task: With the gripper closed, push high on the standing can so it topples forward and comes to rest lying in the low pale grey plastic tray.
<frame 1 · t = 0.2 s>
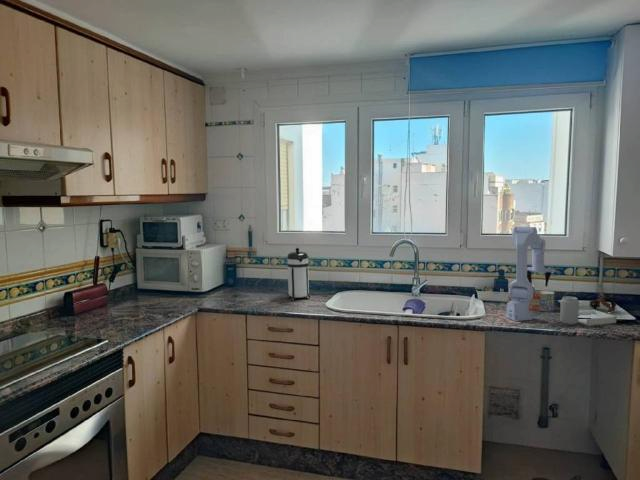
hand: (538, 285, 249), 11 cm above the worktop, tool pointing down, fingers open, 7 cm apart
coffee press: (297, 297, 280), on the worktop
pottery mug: (601, 311, 235), on the worktop
stack of blocks: (530, 309, 243), on the worktop
can: (569, 323, 216), on the worktop
tray: (591, 320, 219), on the worktop
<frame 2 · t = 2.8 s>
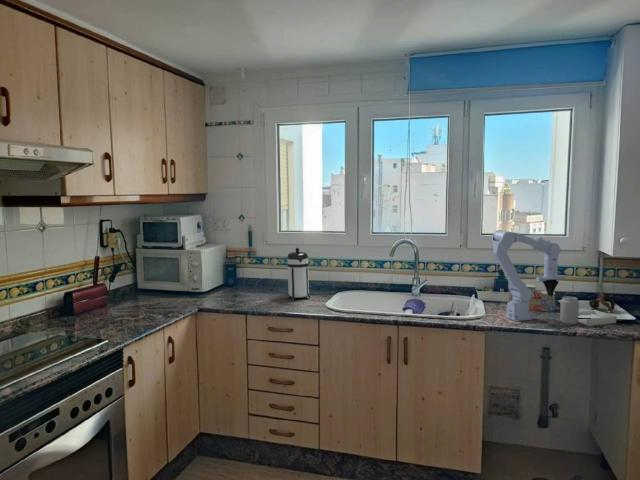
hand: (550, 295, 227), 10 cm above the worktop, tool pointing down, fingers closed
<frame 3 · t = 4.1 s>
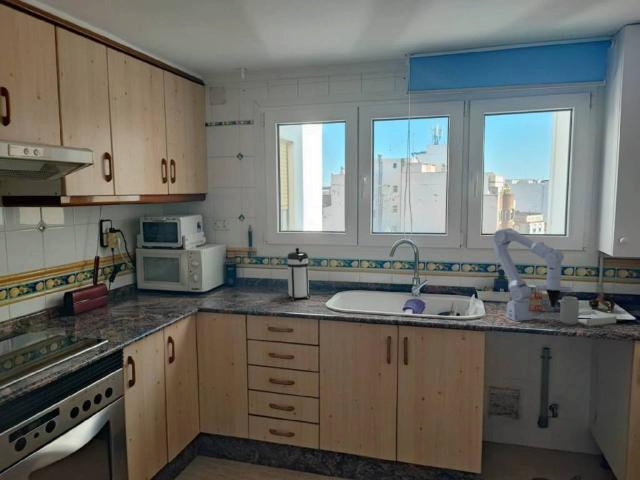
hand: (552, 306, 214), 8 cm above the worktop, tool pointing down, fingers closed
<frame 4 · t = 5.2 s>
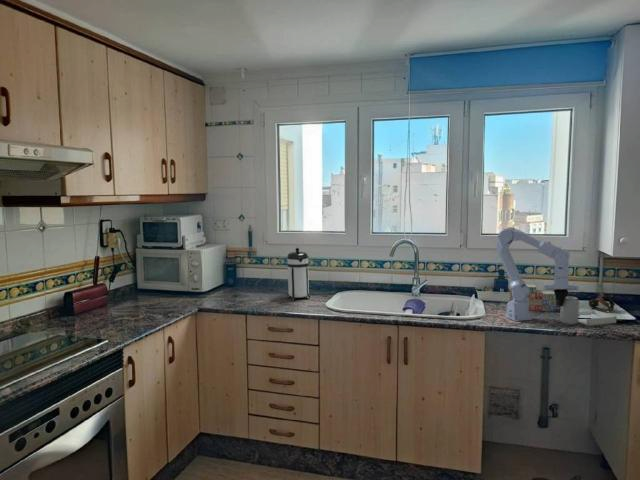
hand: (560, 305, 214), 8 cm above the worktop, tool pointing down, fingers closed, pressing on can
can: (569, 323, 216), on the worktop, touching gripper
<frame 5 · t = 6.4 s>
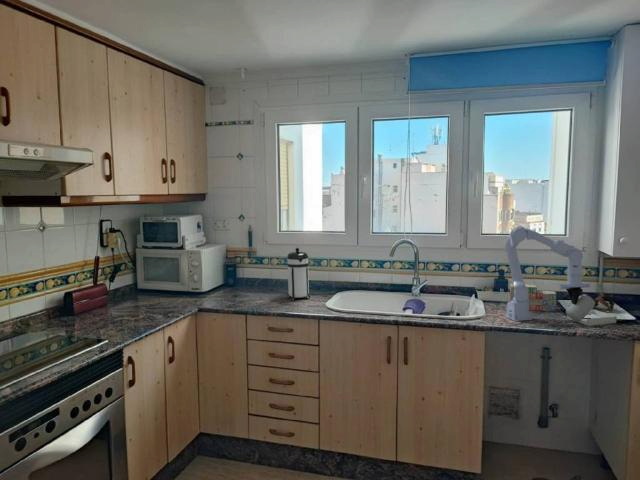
hand: (574, 303, 216), 9 cm above the worktop, tool pointing down, fingers closed, pressing on can
can: (571, 317, 216), point 2 cm above the worktop, touching gripper
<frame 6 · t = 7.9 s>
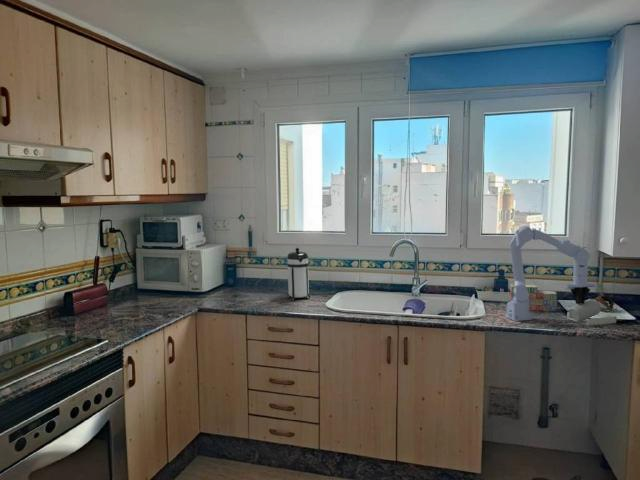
hand: (579, 303, 216), 9 cm above the worktop, tool pointing down, fingers closed
can: (574, 315, 216), point 4 cm above the worktop, touching gripper, tray
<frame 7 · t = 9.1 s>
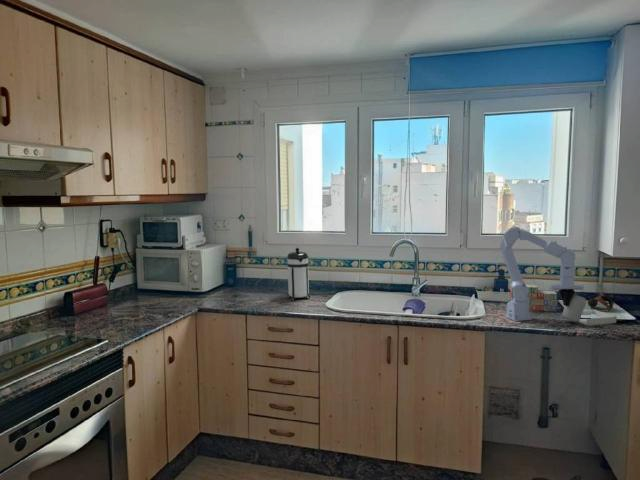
hand: (566, 305, 215), 8 cm above the worktop, tool pointing down, fingers closed
can: (569, 320, 216), point 1 cm above the worktop, touching gripper
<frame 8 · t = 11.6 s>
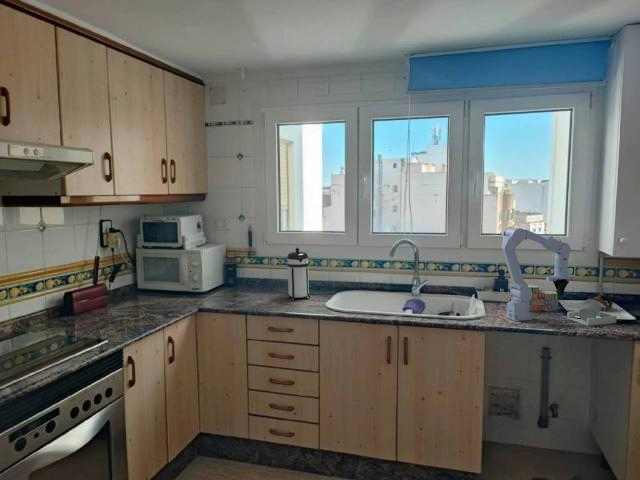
hand: (560, 294, 227), 10 cm above the worktop, tool pointing down, fingers closed
can: (586, 314, 215), point 4 cm above the worktop, touching tray
at the end: can tilted 81°; can inside the target area (4.9 cm from its centre), point 4.0 cm above the worktop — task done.
